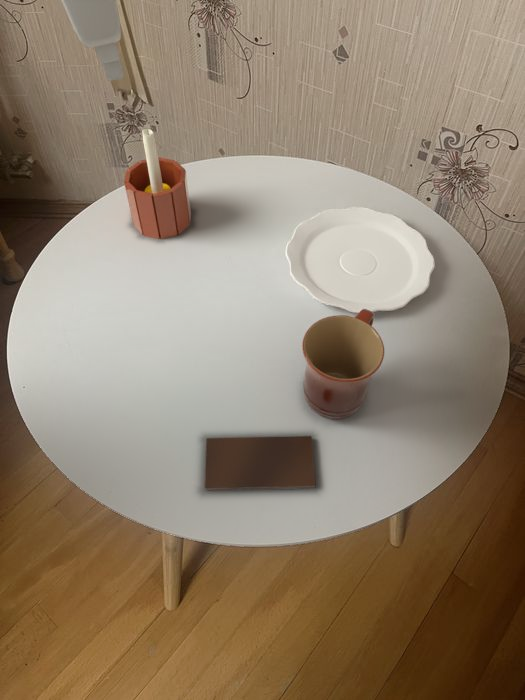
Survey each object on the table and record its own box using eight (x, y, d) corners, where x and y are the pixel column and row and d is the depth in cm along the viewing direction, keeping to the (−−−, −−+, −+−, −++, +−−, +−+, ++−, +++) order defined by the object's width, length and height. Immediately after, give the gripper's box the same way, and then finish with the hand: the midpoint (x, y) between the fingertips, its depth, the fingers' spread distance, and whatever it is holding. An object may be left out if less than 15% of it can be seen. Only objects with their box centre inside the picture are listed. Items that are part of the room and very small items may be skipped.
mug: (349, 441, 65) (363, 394, 57) (283, 407, 68) (287, 357, 59) (391, 367, 71) (408, 315, 63) (329, 338, 74) (338, 285, 66)
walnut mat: (205, 490, 62) (204, 487, 61) (206, 441, 65) (206, 437, 64) (314, 488, 62) (315, 485, 61) (310, 438, 65) (311, 435, 65)
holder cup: (131, 239, 84) (121, 196, 78) (137, 200, 90) (128, 157, 83) (189, 239, 85) (183, 196, 78) (192, 200, 90) (186, 156, 83)
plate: (461, 272, 81) (464, 264, 80) (356, 344, 73) (358, 336, 72) (359, 197, 91) (360, 189, 89) (257, 254, 83) (257, 246, 81)
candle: (184, 211, 88) (172, 120, 76) (173, 233, 85) (158, 142, 73) (152, 205, 89) (135, 114, 76) (140, 227, 86) (120, 136, 73)
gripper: (30, -119, 56) (80, 30, 67) (23, -70, 43) (86, 107, 53) (93, -131, 57) (133, 19, 67) (105, -87, 43) (152, 92, 54)
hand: (112, 59), depth 60 cm, fingers open, 8 cm apart
